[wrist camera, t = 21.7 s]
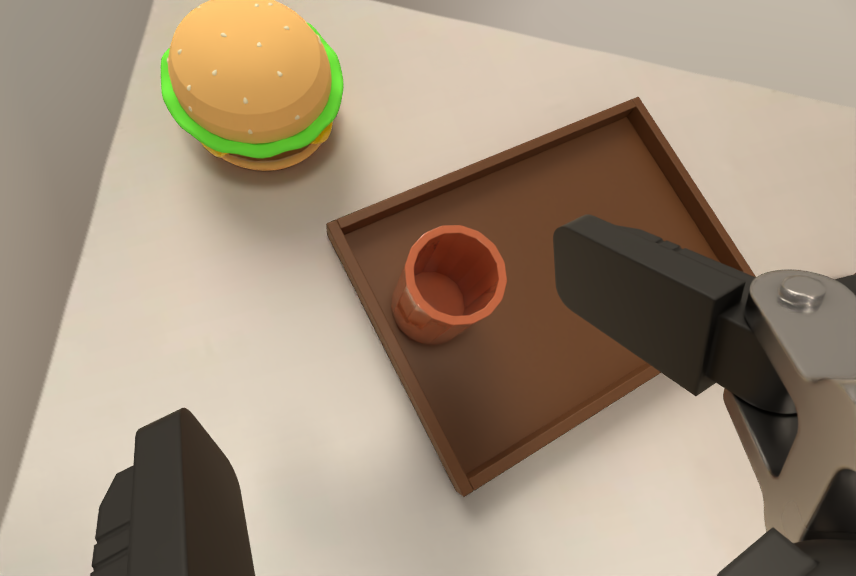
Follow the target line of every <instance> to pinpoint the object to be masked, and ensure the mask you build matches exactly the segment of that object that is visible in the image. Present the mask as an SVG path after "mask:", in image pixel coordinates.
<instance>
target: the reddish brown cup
mask: <svg viewBox="0 0 856 576" xmlns="http://www.w3.org/2000/svg"><path fill="white" fill-rule="evenodd" d="M506 284H507V277H506V269H505V263H504V260H503V258H502V257H501V255H500V253H499V251H498V250H497V248H496V246H495V245H494V243H492V242H491V241H490V240H489V239H488V238H486V237H485V236H484V235H483V234H482V233H480V232H479V231H476V230H473V229H470V228H467V227H465V226H461V225H448V226H440V227H437V228H435V229H433V230H431V231H428V232H426V233H424V234H423V235H422V236H421V237H420V238H419V239H418V240H417V242H416V243H415V244H414V245H413V246H412V247H411V249H410V251H409V254H408V256H407V259H406V261H405V264H404V266H403V269H402V271H401V274H400V276H399V278H398V281H397V283H396V286H395V289H394V292H393V295H392V300H391V310H392V315H393V318H394V320H395V323H396V324H397V326H398V328H399V329H400V330H401V331H402V332H403V333H404V334H405V335H406V336H407V337H408V338H410V339H412V340H413V341H415V342H418V343H421V344H426V345H437V344H442V343H445V342H447V341H449V340H451V339H453V338H455V337H457V336H458V335H460V334H461V333H463V332H465V331H466V330H468V329H469V328H471V327H472V326H474V325H475V324H477V323H478V322H480V321H482V320H483V319H485V318H486V317H488V316H489V315H490V314H491V313H492V312H493V311H494V310H495V308H496V307H497V306H498V305H499V303H500V302H501V301H502V299H503V295H504V291H505V288H506Z"/></svg>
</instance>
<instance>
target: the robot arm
mask: <svg viewBox="0 0 856 576" xmlns="http://www.w3.org/2000/svg"><path fill="white" fill-rule="evenodd" d="M553 248H554V265H555V283H556V289H557V292H558V295H559V297H560V299H561V300H562V302H563V303H564V304H565V306H566V307H567V308H569V309H570V310H571V311H573V312H574V313H575V314H577V315H578V316H580V317H581V318H583V319H584V320H586V321H587V322H589V323H590V324H591V325H593V326H594V327H596V328H597V329H599V330H600V331H602V332H603V333H605V334H606V335H607V336H609V337H610V338H612V339H613V340H615V341H616V342H618V343H619V344H621V345H622V346H623V347H625V348H626V349H628V350H629V351H631V352H632V353H634V354H635V355H637V356H638V357H639V358H641V359H642V360H644V361H645V362H647V363H648V364H650V365H651V366H653V367H654V368H655V369H657V370H658V371H660V372H661V373H663V374H664V375H666V376H667V377H669V378H670V379H671V380H673V381H674V382H676V383H677V384H679V385H680V386H682V387H683V388H685V389H686V390H687V391H689V392H690V393H692V394H693V395H695V396H697V395H699V394H700V393H702V392H703V391H704V390H706V389H707V388H709V387H710V386H712V385H713V384H715V383H718V384H719V385H721V386H722V387H724V388H725V389H724V393H723V399H724V403H725V405H726V408H727V410H728V412H729V415H730V417H731V419H732V422H733V424H734V426H735V429H736V431H737V433H738V436H739V438H740V440H741V443H742V445H743V447H744V450H745V452H746V454H747V457H748V459H749V461H750V464H751V466H752V468H753V471H754V473H755V475H756V478H757V480H758V482H759V485H760V488H761V491H762V495H763V501H764V520H765V527H766V533H765V534H764V535H763V536H762V537H760V538H759V539H758V540H757V541H756V542H755V543H753V544H752V545H751V546H750V547H749V548H747V549H746V550H745V551H744V552H743V553H741V554H740V555H739V556H738V557H737V558H736V559H734V560H733V561H732V562H731V563H730V564H728V565H727V566H726V567H725V568H724V569H723V570H721V571H720V572H719V573H718V575H717V576H856V274H855V275H851V276H847V277H843V278H839V279H835V280H834V279H832V278H829V277H827V276H824V275H821V274H817V273H813V272H808V271H801V270H776V271H771V272H767V273H764V274H761V275H760V276H758V277H754V276H751V275H749V274H747V273H744V272H742V271H739V270H737V269H735V268H732V267H730V266H727V265H725V264H723V263H720V262H718V261H715V260H713V259H711V258H708V257H706V256H703V255H701V254H699V253H696V252H694V251H692V250H689V249H687V248H684V249H682V248H681V246H680V245H677V244H675V243H672V242H670V241H668V240H666V241H663V238H660V237H658V236H656V235H653V234H651V233H648V232H646V231H644V230H641V229H636V228H630V227H624V226H619V225H614V224H612V223H609V222H607V221H605V220H602V219H600V218H598V217H596V216H593V215H589V214H587V215H583V216H581V217H579V218H577V219H575V220H573V221H571V222H569V223H567V224H565V225H563V226H561V227H558V228H557V229H556V230H555V232H554V235H553ZM95 539H96V541H97V544H96V545H94V552H93V560H92V567H93V569H94V572H92V573H91V575H90V576H255V572H254V566H253V560H252V554H251V548H250V543H249V537H248V531H247V525H246V519H245V513H244V508H243V502H242V496H241V490H240V486H239V482H238V479H237V476H236V474H235V472H234V469H233V467H232V465H231V464H230V462H229V460H228V459H227V457H226V456H225V455H224V453H223V452H222V451H221V449H220V448H219V447H218V446H217V444H216V443H215V442H214V441H213V439H212V438H211V437H210V435H209V434H208V433H207V432H206V430H205V429H204V428H203V427H202V425H201V424H200V423H199V421H198V420H197V419H196V418H195V416H194V415H193V414H192V413H191V412H190V411H189V410H188V409H186V408H181V409H179V410H177V411H175V412H173V413H171V414H169V415H167V416H165V417H163V418H161V419H159V420H157V421H154V422H152V423H150V424H148V425H146V426H144V427H142V428H140V429H138V431H137V432H136V437H135V451H134V465H133V466H131V467H129V468H127V469H125V470H123V471H121V472H119V473H117V474H116V476H115V478H114V480H113V481H112V483H111V485H110V487H109V489H108V491H107V493H106V495H105V497H104V499H103V501H102V503H101V505H100V507H99V513H98V521H97V529H96V536H95Z"/></svg>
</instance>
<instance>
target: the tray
mask: <svg viewBox="0 0 856 576" xmlns="http://www.w3.org/2000/svg"><path fill="white" fill-rule="evenodd" d="M587 214H589V215H593V216H596V217H598V218H600V219H602V220H605V221H607V222H609V223H612V224H614V225H619V226H624V227H630V228H636V229H641V230H644V231H646V232H648V233H651V234H653V235H656V236H658V237H660V238H663V241H666V240H668V241H670V242H672V243H675V244H677V245H680V246H681V248H682V249H684V248H687V249H689V250H692V251H694V252H696V253H699V254H701V255H703V256H706V257H708V258H711V259H713V260H715V261H718V262H720V263H723V264H725V265H727V266H730V267H732V268H735V269H737V270H739V271H742V272H744V273H747V274H749V275H751V276H754V277H756V276H755V275H754V273H753V272H752V270H751V269H750V267H749V265H748V264H747V262H746V261H745V259H744V258H743V256H742V255H741V253H740V252H739V250H738V249H737V247H736V246H735V244H734V242H733V241H732V239H731V238H730V236H729V235H728V233H727V232H726V230H725V229H724V227H723V226H722V224H721V223H720V221H719V219H718V218H717V216H716V215H715V213H714V212H713V210H712V209H711V207H710V206H709V204H708V203H707V201H706V199H705V198H704V196H703V195H702V193H701V192H700V190H699V189H698V187H697V186H696V184H695V183H694V181H693V180H692V178H691V176H690V175H689V173H688V172H687V170H686V169H685V167H684V166H683V164H682V163H681V161H680V160H679V158H678V157H677V155H676V153H675V152H674V150H673V149H672V147H671V146H670V144H669V143H668V141H667V140H666V138H665V137H664V135H663V134H662V132H661V130H660V129H659V127H658V126H657V124H656V123H655V121H654V120H653V118H652V117H651V115H650V114H649V112H648V110H647V109H646V107H645V106H644V104H643V103H642V101H641V100H640V98H639V97H636V98H634V99H631V100H629V101H626V102H624V103H621V104H619V105H616V106H614V107H612V108H609V109H607V110H604V111H602V112H599V113H597V114H594V115H592V116H589V117H587V118H584V119H582V120H580V121H577V122H575V123H572V124H570V125H567V126H565V127H562V128H560V129H557V130H555V131H553V132H550V133H548V134H545V135H543V136H540V137H538V138H535V139H533V140H530V141H528V142H525V143H523V144H521V145H518V146H516V147H513V148H511V149H508V150H506V151H503V152H501V153H498V154H496V155H494V156H491V157H489V158H486V159H484V160H481V161H479V162H476V163H474V164H471V165H469V166H466V167H464V168H462V169H459V170H457V171H454V172H452V173H449V174H447V175H444V176H442V177H439V178H437V179H435V180H432V181H430V182H427V183H425V184H422V185H420V186H417V187H415V188H412V189H410V190H407V191H405V192H403V193H400V194H398V195H395V196H393V197H390V198H388V199H385V200H383V201H380V202H378V203H376V204H373V205H371V206H368V207H366V208H363V209H361V210H358V211H356V212H353V213H351V214H348V215H346V216H344V217H341V218H339V219H337V220H334V221H331V222H329V223H327V224H326V225H327V235H328V237H329V239H330V241H331V243H332V245H333V247H334V249H335V251H336V253H337V255H338V257H339V259H340V261H341V263H342V265H343V267H344V269H345V271H346V273H347V275H348V277H349V279H350V281H351V283H352V285H353V287H354V289H355V291H356V293H357V294H358V296H359V298H360V300H361V302H362V304H363V306H364V308H365V310H366V312H367V314H368V316H369V318H370V320H371V322H372V324H373V326H374V328H375V330H376V332H377V334H378V336H379V338H380V340H381V342H382V344H383V346H384V348H385V350H386V352H387V354H388V356H389V358H390V360H391V362H392V364H393V366H394V368H395V370H396V372H397V374H398V376H399V378H400V380H401V382H402V384H403V386H404V388H405V390H406V392H407V394H408V396H409V398H410V400H411V402H412V404H413V406H414V408H415V410H416V412H417V414H418V416H419V418H420V420H421V422H422V424H423V426H424V428H425V430H426V432H427V434H428V436H429V438H430V440H431V442H432V444H433V446H434V448H435V450H436V452H437V454H438V456H439V458H440V460H441V462H442V464H443V466H444V468H445V470H446V472H447V474H448V476H449V478H450V480H451V482H452V484H453V486H454V488H455V490H456V491H457V492H458V493H459V494H461V495H462V496H463V497H465V496H466V495H468V494H469V493H471V492H473V490H476V489H478V488H479V487H481V486H482V485H484V484H485V483H487V482H489V481H490V480H492V479H493V478H495V477H497V476H498V475H500V474H501V473H503V472H504V471H506V470H508V469H509V468H511V467H512V466H514V465H515V464H517V463H519V462H520V461H522V460H523V459H525V458H527V457H528V456H530V455H531V454H533V453H534V452H536V451H538V450H539V449H541V448H542V447H544V446H546V445H547V444H549V443H550V442H552V441H553V440H555V439H557V438H558V437H560V436H561V435H563V434H565V433H566V432H568V431H569V430H571V429H572V428H574V427H576V426H577V425H579V424H580V423H582V422H584V421H585V420H587V419H588V418H590V417H591V416H593V415H595V414H596V413H598V412H599V411H601V410H602V409H604V408H606V407H607V406H609V405H610V404H612V403H614V402H615V401H617V400H618V399H620V398H621V397H623V396H625V395H626V394H628V393H629V392H631V391H633V390H634V389H636V388H637V387H639V386H640V385H642V384H644V383H645V382H647V381H648V380H650V379H652V378H653V377H655V376H656V375H658V374H659V373H661V372H660V371H658V370H657V369H655V368H654V367H653V366H651V365H650V364H648V363H647V362H645V361H644V360H642V359H641V358H639V357H638V356H637V355H635V354H634V353H632V352H631V351H629V350H628V349H626V348H625V347H623V346H622V345H621V344H619V343H618V342H616V341H615V340H613V339H612V338H610V337H609V336H607V335H606V334H605V333H603V332H602V331H600V330H599V329H597V328H596V327H594V326H593V325H591V324H590V323H589V322H587V321H586V320H584V319H583V318H581V317H580V316H578V315H577V314H575V313H574V312H573V311H571V310H570V309H569V308H567V307H566V306H565V304H564V303H563V302H562V300H561V299H560V297H559V295H558V292H557V289H556V283H555V265H554V248H553V235H554V232H555V230H556V229H557V228H558V227H561V226H563V225H565V224H567V223H569V222H571V221H573V220H575V219H577V218H579V217H581V216H583V215H587ZM448 225H461V226H465V227H467V228H470V229H473V230H476V231H479V232H480V233H482V234H483V235H484V236H485V237H486V238H488V239H489V240H490V241H491V242H492V243H494V245H495V246H496V248H497V250H498V251H499V253H500V255H501V257H502V258H503V260H504V263H505V269H506V277H507V284H506V288H505V291H504V295H503V299H502V301H501V302H500V303H499V305H498V306H497V307H496V308H495V310H494V311H493V312H492V313H491V314H490V315H489V316H488V317H486V318H485V319H483V320H482V321H480V322H478V323H477V324H475V325H474V326H472V327H471V328H469V329H468V330H466V331H465V332H463V333H461V334H460V335H458V336H457V337H455V338H453V339H451V340H449V341H447V342H445V343H442V344H437V345H426V344H421V343H418V342H415V341H413V340H412V339H410V338H408V337H407V336H406V335H405V334H404V333H403V332H402V331H401V330H400V329H399V328H398V326H397V324H396V323H395V320H394V318H393V315H392V310H391V300H392V295H393V292H394V289H395V286H396V283H397V281H398V278H399V276H400V274H401V271H402V269H403V266H404V264H405V261H406V259H407V256H408V254H409V251H410V249H411V247H412V246H413V245H414V244H415V243H416V242H417V240H418V239H419V238H420V237H421V236H422V235H423V234H424V233H426V232H428V231H431V230H433V229H435V228H437V227H440V226H448Z"/></svg>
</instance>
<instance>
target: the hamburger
mask: <svg viewBox="0 0 856 576" xmlns="http://www.w3.org/2000/svg"><path fill="white" fill-rule="evenodd" d="M161 89H162V96H163V100H164V102H165V104H166V106H167V108H168V110H169V112H170V113H171V115H172V116H173V118H174V119H175V121H176V122H177V123H178V124H179V125H180V127H181V128H183V129H184V130H185V131H186V132H188V133H189V134H191V135H192V136H193V137H195V138H196V139H197V140H199V141H200V142H201V144H202V145H203V146H204V147H205V148H206V149H207V150H208V151H209V152H210V153H211V154H213V155H214V156H216V157H221V158H223V159H224V160H226V161H227V162H230V163H232V164H234V165H237V166H239V167H244V168H248V169H252V170H263V171H267V170H278V169H283V168H287V167H290V166H292V165H295V164H298V163H299V162H301V161H303V160H304V159H306V158H308V157H309V156H310V155H311V154H312V153H314V152H315V151H316V150H317V149H318V147H319V146H320V145H321V144H322V143H324V142H325V141H326V140H327V139H328V137H329V135H330V133H331V130H332V124H333V120H334V119H335V117H336V115H337V113H338V111H339V108H340V104H341V99H342V94H343V76H342V71H341V67H340V63H339V60H338V57H337V55H336V53H335V52H334V51H333V49H332V48H331V47H330V46H329V45H328V44H327V43H326V42H325V40H324V39H323V38H322V37H321V35H320V34H319V33H318V32H317V30H316V29H315V28H314V27H313V26H312V25H311V24H309V23H307V22H305V20H304V19H303V18H302V17H300V16H299V15H298V14H297V13H296V12H295V11H293V10H291V9H290V8H288V7H287V6H285V5H283V4H281V3H278V2H276V1H274V0H210V1H208V2H206V3H203V4H201V5H200V6H198V7H197V8H195V9H194V10H192V11H191V12H190V13H189V14H188V15H187V16H186V17H185V18H184V19H183V20H182V21H181V23H180V24H179V26H178V27H177V29H176V31H175V34H174V36H173V39H172V42H171V46H170V48H169V49H168V50H167V51H166V52H165V53H164V55H163V57H162V59H161Z"/></svg>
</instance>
